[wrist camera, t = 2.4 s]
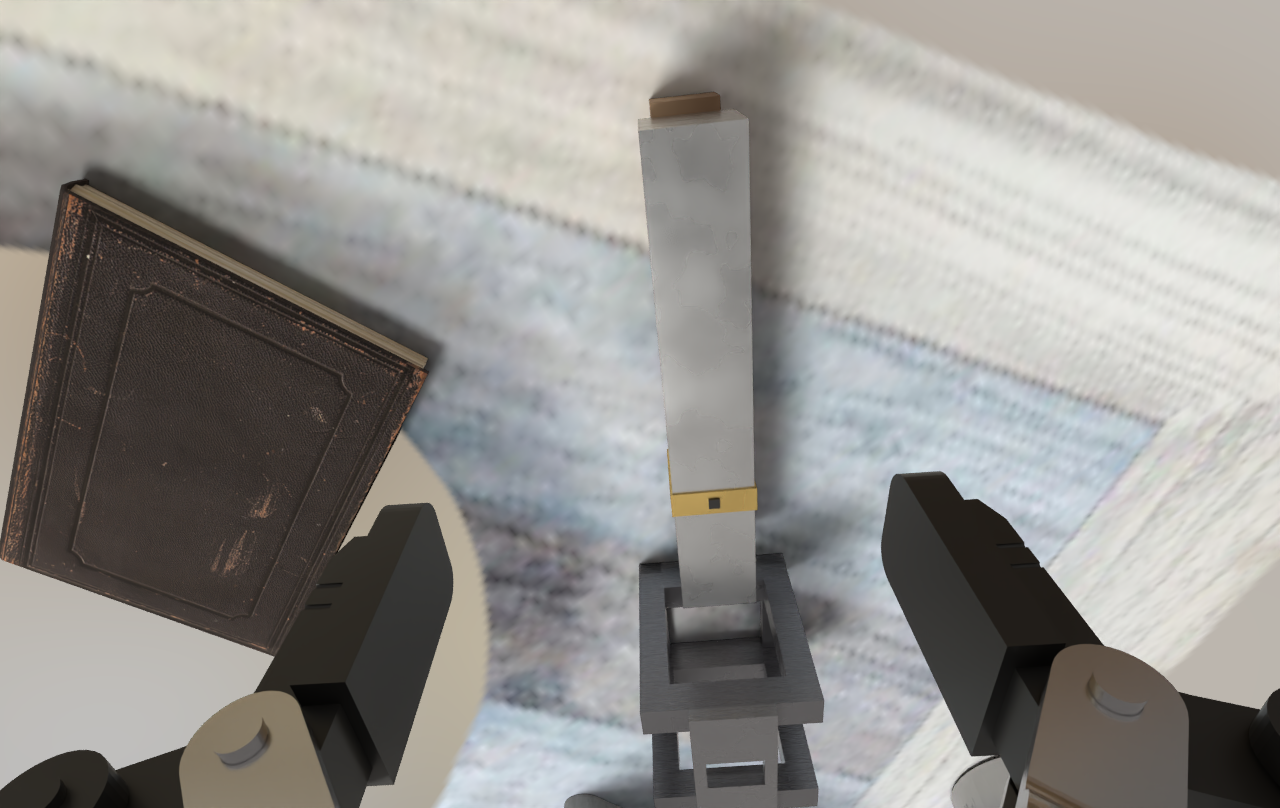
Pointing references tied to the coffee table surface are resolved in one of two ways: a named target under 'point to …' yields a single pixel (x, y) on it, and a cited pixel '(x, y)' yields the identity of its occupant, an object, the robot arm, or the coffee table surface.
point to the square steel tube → (705, 343)
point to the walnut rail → (684, 104)
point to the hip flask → (587, 802)
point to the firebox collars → (729, 699)
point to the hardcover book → (193, 427)
